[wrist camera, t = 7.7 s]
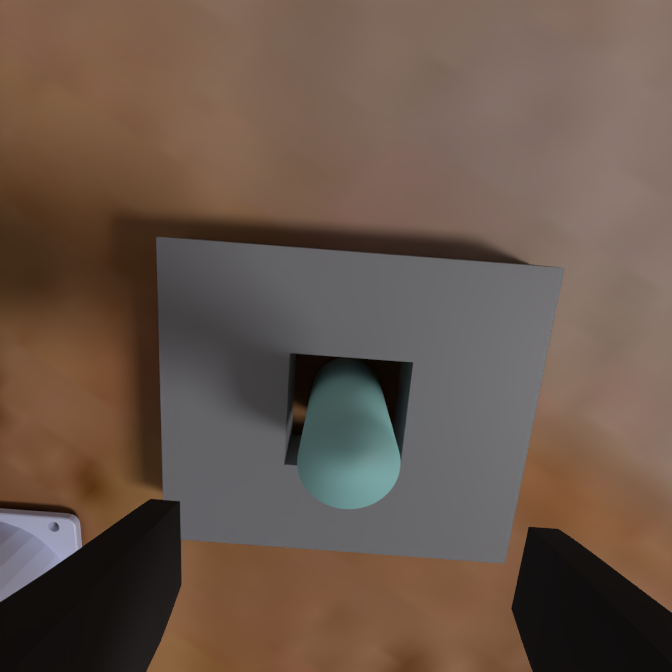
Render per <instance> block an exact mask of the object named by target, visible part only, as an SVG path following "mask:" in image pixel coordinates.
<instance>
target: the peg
mask: <svg viewBox="0 0 672 672" xmlns="http://www.w3.org/2000/svg"><path fill="white" fill-rule="evenodd" d="M400 463H401V460H400V453H399V450H398V446H397V442H396V439H395V435H394V432H393V428H392V424H391V421H390V417H389V414H388V410H387V407H386V403H385V399H384V396H383V392H382V389H381V385H380V381H379V378H378V376H377V374H376V373H375V371H374V370H373V369H372V368H371V367H370V366H369V365H368V364H367V363H365V362H363V361H362V360H359V359H356V358H349V357H341V358H337V359H333V360H331V361H329V362H327V363H326V364H325V365H323V366H322V367H321V368H320V369H319V371H318V372H317V374H316V375H315V378H314V380H313V384H312V389H311V394H310V398H309V403H308V408H307V413H306V418H305V423H304V427H303V432H302V437H301V442H300V447H299V451H298V457H297V468H298V473H299V476H300V479H301V481H302V483H303V485H304V486H305V488H306V489H307V490H308V492H309V493H310V494H311V495H312V496H313V497H315V498H316V499H317V500H319V501H320V502H322V503H324V504H326V505H329V506H332V507H335V508H340V509H358V508H363V507H366V506H369V505H372V504H374V503H376V502H377V501H379V500H380V499H382V498H383V497H384V496H385V495H387V494H388V492H389V491H390V490H391V489H392V487H393V486H394V485H395V483H396V481H397V478H398V475H399V472H400Z"/></svg>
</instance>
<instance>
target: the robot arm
mask: <svg viewBox="0 0 672 672" xmlns="http://www.w3.org/2000/svg"><path fill="white" fill-rule="evenodd" d="M55 523H57V524H58V525H59V526H58V525H56V524H55ZM180 587H181V526H180V501H170V500H157V499H150V500H148V501H147V502H145V503H144V504H142V505H141V506H139V507H138V508H137V509H135V510H134V511H132V512H131V513H129V514H128V515H127V516H125V517H124V518H122V519H121V520H120V521H118V522H117V523H115V524H114V525H113V526H111V527H110V528H108V529H107V530H106V531H104V532H103V533H101V534H100V535H99V536H97V537H96V538H94V539H93V540H91V541H90V542H89V543H87V544H86V545H84V546H83V547H82V541H81V529H80V522H79V519H78V518H77V517H76V516H75V515H73V514H69V513H57V512H44V511H30V510H17V509H3V508H0V672H146V671H147V669H148V666H149V664H150V662H151V660H152V658H153V656H154V654H155V652H156V650H157V648H158V646H159V643H160V641H161V639H162V636H163V633H164V631H165V628H166V626H167V623H168V620H169V618H170V615H171V612H172V609H173V607H174V604H175V601H176V598H177V595H178V593H179V590H180ZM512 611H513V615H514V618H515V621H516V624H517V627H518V630H519V633H520V636H521V640H522V643H523V645H524V648H525V651H526V654H527V657H528V660H529V663H530V665H531V668H532V670H533V672H672V613H671V612H670V611H669V610H667V609H666V608H665V607H663V606H662V605H661V604H659V603H658V602H657V601H655V600H654V599H653V598H651V597H650V596H649V595H647V594H646V593H645V592H643V591H642V590H641V589H639V588H638V587H637V586H635V585H634V584H633V583H631V582H630V581H629V580H627V579H626V578H625V577H623V576H622V575H621V574H619V573H618V572H617V571H615V570H614V569H613V568H612V567H610V566H609V565H608V564H606V563H605V562H604V561H602V560H601V559H600V558H598V557H597V556H596V555H594V554H593V553H592V552H590V551H589V550H588V549H586V548H585V547H583V546H582V545H581V544H579V543H578V542H577V541H575V540H574V539H572V538H571V537H570V536H568V535H567V534H565V533H564V532H562V531H561V530H559V529H551V528H537V527H529V528H528V533H527V538H526V543H525V547H524V552H523V557H522V562H521V566H520V571H519V576H518V580H517V585H516V590H515V595H514V599H513V604H512Z"/></svg>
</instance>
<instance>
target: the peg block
mask: <svg viewBox="0 0 672 672" xmlns="http://www.w3.org/2000/svg"><path fill="white" fill-rule="evenodd" d="M156 253H157V290H158V327H159V364H160V402H161V439H162V476H163V500H170V501H180V526H181V540H194V541H207V542H221V543H234V544H248V545H262V546H275V547H289V548H302V549H316V550H329V551H343V552H356V553H370V554H383V555H397V556H411V557H424V558H438V559H451V560H465V561H478V562H492V563H505V561H506V556H507V551H508V546H509V541H510V536H511V531H512V526H513V521H514V516H515V511H516V506H517V501H518V496H519V491H520V486H521V481H522V476H523V471H524V466H525V461H526V456H527V451H528V446H529V442H530V437H531V432H532V427H533V422H534V417H535V412H536V407H537V402H538V397H539V392H540V387H541V382H542V377H543V372H544V367H545V362H546V357H547V352H548V347H549V342H550V337H551V332H552V327H553V322H554V317H555V313H556V308H557V303H558V298H559V293H560V288H561V283H562V278H563V273H564V268H560V267H550V266H540V265H530V264H517V263H504V262H491V261H478V260H465V259H452V258H439V257H426V256H413V255H399V254H386V253H373V252H360V251H347V250H334V249H321V248H308V247H295V246H282V245H268V244H255V243H242V242H229V241H216V240H203V239H190V238H171V237H156ZM296 354H309V355H322V356H335V357H349V358H362V359H375V360H388V361H401V366H400V375H399V383H398V392H397V400H396V409H395V418H394V426H393V432H394V435H395V439H396V442H397V446H398V450H399V453H400V460H401V463H400V472H399V475H398V478H397V481H396V483H395V485H394V486H393V487H392V489H391V490H390V491H389V492H388V494H387V495H385V496H384V497H383V498H382V499H380V500H379V501H377V502H376V503H374V504H372V505H369V506H366V507H363V508H358V509H340V508H335V507H332V506H329V505H326V504H324V503H322V502H320V501H319V500H317V499H316V498H315V497H313V496H312V495H311V494H310V493H309V492H308V490H307V489H306V488H305V486H304V485H303V483H302V481H301V479H300V476H299V473H298V468H297V457H298V451H299V447H300V442H301V437H302V435H292V425H293V406H294V388H295V369H296Z"/></svg>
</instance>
